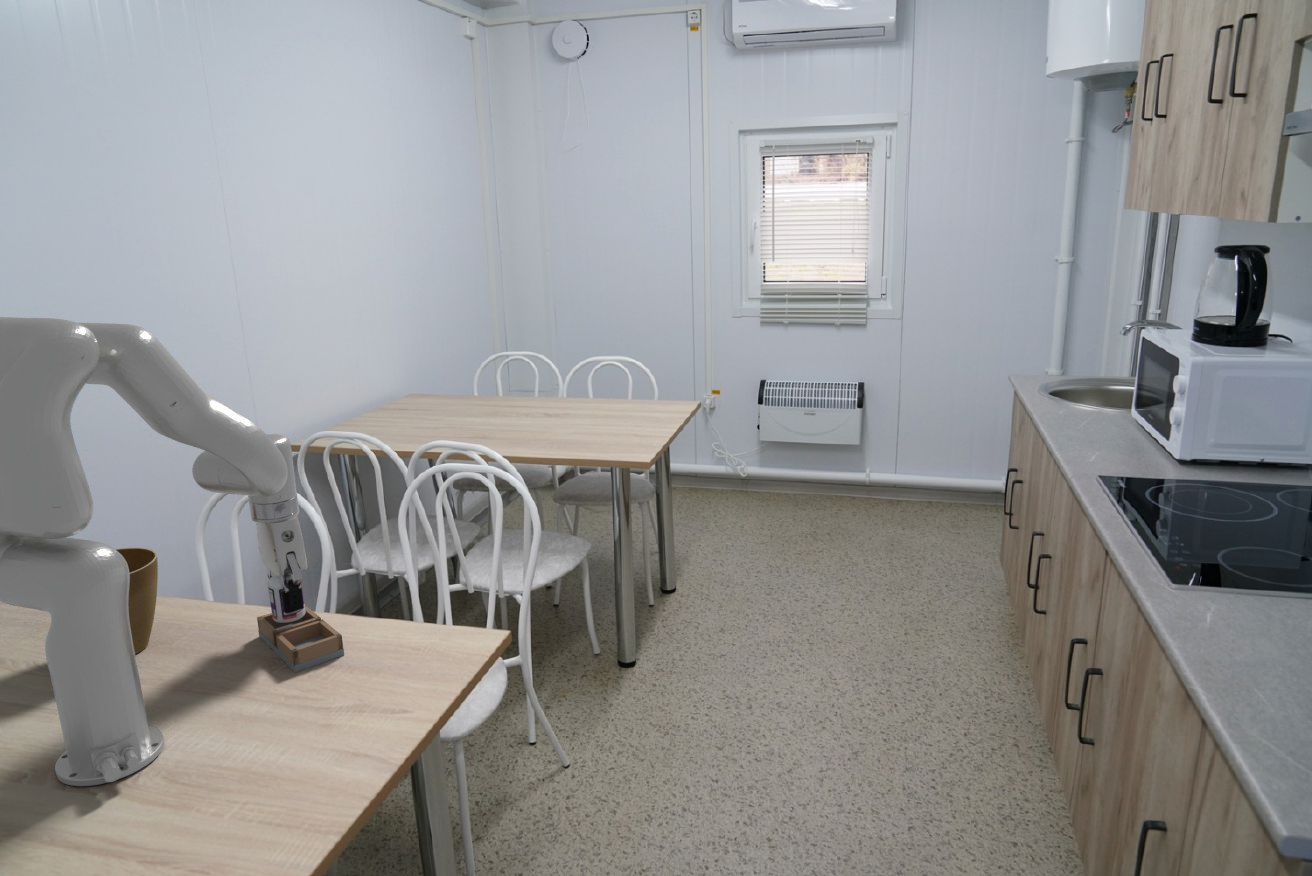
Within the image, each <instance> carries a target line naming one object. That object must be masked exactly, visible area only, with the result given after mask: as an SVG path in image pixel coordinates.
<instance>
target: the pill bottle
mask: <svg viewBox="0 0 1312 876" xmlns="http://www.w3.org/2000/svg"><path fill="white" fill-rule="evenodd" d="M270 571H271V570H270ZM288 572H290V570H289V569H288V570H284V573H288ZM271 576H272V577H271V578H270V579H268V581H267V589H268V596H269V602H270V609H271V613H272V617H273V620H274V621H275V622H278V623H288V622H293V621H296V620H299V619H300V618H302V617H303V616H304V615H305V605H306V604H305V598H304V591H303V588H302V596H303V604H304V608H303V609H300V610H297V611H294V612H291V613H285V612H284V608H283V600H282V593H281V592H282V591H283V587H282V582H281V578H280V576H278V575H276V574H275V573H274V572H272V571H271ZM290 579H291V576H289V577H286V581H287V583H288V581H289V580H290ZM301 585H302V586H303V582H302V580H301Z"/></svg>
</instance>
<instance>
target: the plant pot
mask: <svg viewBox="0 0 1312 876" xmlns="http://www.w3.org/2000/svg"><path fill="white" fill-rule="evenodd" d="M114 549H115V548H114ZM115 550H117V551H118V552H119V553H120V554H121V555H122V556H123V557H124V559H125V560H126V562H127V565H128V568H129V574H130V584H129V597H128V609H129V621H130V628H131V634H132V640H133V645H134V651H135V655H136V654H139V653H140V652H142V651H144V650H145V649H146V648H147V647H148V646H149V641H150V638H151V635H152V634H151V633H152V630H153V624H154V619H155V613H156V606H157V595H158V582H159V581H158V579H159V577H158V576H159V574H158V573H159V572H158V569H159V567H158V566H159V565H158V553H157V552H156V551H155V550H153V549H152V548H151V549H150V548H146V547H123V548H116V549H115Z"/></svg>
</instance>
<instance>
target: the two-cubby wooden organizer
mask: <svg viewBox="0 0 1312 876" xmlns="http://www.w3.org/2000/svg"><path fill="white" fill-rule="evenodd" d="M256 620H257V627H258V628H257V629H258V636H259V638H260V639H261V640H262V641H263V642H264V643H265V644H266V645H267V646H268V647H269V648H270V649H271V650H272V651H273V652H274V653H275V654H276V655H277V656H278V657H279V658H280V659H281V660H282V661H283V662H284V663H285V664H286V665H288V667H289V668H290V669H291V670H292V671H293V672H294V673H298V672H301V671H303V670H306V669H310V668H312V667H314V666H318V665H320V664H324V663H325V662H330V661H332V660H334V659H337V658H340V657H343V656H345V650H344V643H343V635H342V634H341V633H340V632H339V631H337V630H336V629H335V628H334V627H333V626H331V625H330V624H329V623H328V622H326V621H325V620H324V619H322V618H321V616H319V615H318V614H317V613H316V612H314V611H313V610H312V609H311V608H309V607H308V606H307V605H306V604H305V615H304V616H303V617H302V618H300V619H299V620H296V621H293V622H288V623H278V622H275V621H274V620H273V617H272V612H271V613H267V614H264V615H261V616H257V617H256Z"/></svg>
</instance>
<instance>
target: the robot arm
mask: <svg viewBox="0 0 1312 876" xmlns="http://www.w3.org/2000/svg"><path fill="white" fill-rule="evenodd" d="M85 385H101V386H103V385H104V386H107V387H109V388H111V389H113V390H114V391H115V392H116V394H117V395H119V396H120V397H121V398H122V399H123V401H125V402H126V403H127V404H128V405H129V406H130V407H131V408H132V409H133V410H134V412H135V413H137V414H138V416H140V418H141V419H143V420H144V422H146V424H147V425H148V426H149V427H150V428H151V429H152V430H153V431H155V432H156V433H157V434H159V435H162V436H164V437H167V439H170V440H173V441H175V442H177V443H181V444H184V445H187V446H191V447H193V448H197V449H200V450H203V452H201V453H200V454H199V455H198V456H197V457H196V458H195V460H194V462H193V465H192V478H193V480H194V482H195V484H197V485H198V486H199V487H201V488H202V489H203V490H205V491H207V492H211V493H217V494H226V495H227V494H228V495H239V496H248V505H249V512H250V518H251V521H252V522H255V523H256V536H257V544H258V551H259V556H260V560H261V563H262V564H263V565H264V566H265V567H266V568H267V569H266V570H267V571H266V572H267V574H266V576H267V579H268V580H269V579H270V578H271V577H272V576H271V571H272V572H274V573H275V574H276V575H278V576H280V578H281V582H282V587H283V591H282V592H281V593H282V600H283V608H284V612H285V613H291V612H294V611H297V610H300V609H303V608H304V604H305V603H304V604H303V597H304V595H303V596H302V589H303V584H302V585H301V581H302V580H303V575H302V572H301V571H303V572H304V571H307V569H308V560H307V555H306V554H307V553H306V548H305V543H304V542H305V541H304V539H303V534H302V529H301V524H300V522H299V521H300V520H299V519H298V516H299V514H300V506H299V499H298V491H297V484H296V476H295V475H296V474H295V468H294V459H293V449H292V445H291V441H290V439H288V437H287V436H285V435H283V434H277V433H268V434H267V433H266V432H265V431H264V430H262V428H260V427H259V426H258V425H257V424H255V423H254V422H253V421H251V420H250V419H248V418H246V416H243V415H241V414H239V413H238V412H237V411H235V410H233V409H231V408H230V407H228V406H227V405H225V404H223V403H222V402H220V401H218V400H217V399H215V398H212V397H211V396H209V395H208V394H207V393H205V392H204V390H203V389H202V388H200V386H199V385H198V384H197V383H196V381H195V380H194V379H193V378H192V377H191V375H189V373H188V372H187V371H186V370H185V369H184V367H183V366H182V365H181V364H180V363H179V362H178V361H177V360H176V358H175V357H174V356H173V355H172V354H171V352H170V351H168V349H167V347H165V346H164V344H163V343H162V342H161V341H160V340H159V339H158V338H157V337H156V336H155V335H154V334H153V333H152V332H150V331H149V330H148V329H146V328H144V327H143V326H142V327H141V326H138V325H134V324H128V323H108V322H107V323H106V322H105V323H101V322H76V321H72V320H67V319H61V318H60V319H59V318H51V317H50V318H49V317H12V316H11V317H9V316H0V603H4V604H6V605H9V606H14V607H18V608H23V609H30V610H31V609H32V610H37V611H39V612H40V611H41V612H46V613H49V615H50V618H51V620H50V625H49V628H48V631H47V635H46V638H45V643H44V644H45V648H44V649H45V650H44V652H45V659H46V663H47V668H48V671H49V675H50V681H51V685H52V690H53V694H54V699H55V703H56V709H57V714H58V719H59V723H60V727H61V733H62V736H63V737H62V738H63V741H64V746H65V747H64V748H65V751H64V752H62V754H60V756H59V757H58V759H57V761H56V762H55V767H54V772H55V774H56V778H57V779H58V781H60V782H61V783H63V784H64V785H68V786H74V787H89V786H90V787H91V786H99V785H102V784H107V783H113V782H116V781H118V780H120V779H123V778H125V777H128V776H130V775H132V774H135V773H136V772H138V771H140V770H141V769H143V768H144V767H146V766H147V765H149V764H150V763H152V762H153V761H154V760H155V759H156V758H157V757H158V756H159V755H160V754H161V752H162V750H163V749H164V746H165V739H164V738H165V737H164V733H163V732H162V730H160V729H159V728H158V727H156V726H154V725H149V723H148V718H147V713H146V712H147V711H146V706H145V702H144V695H143V689H142V684H141V679H140V674H139V669H138V663H137V657H136V654H135V651H134V645H133V640H132V634H131V628H130V621H129V609H128V597H129V584H130V574H129V568H128V565H127V562H126V560H125V559H124V557H123V556H122V555H121V554H120V553H119V552H118V551H117V550H115V548H114V547H112V546H109V545H107V544H105V543H102V542H99V541H95V540H89V539H83V538H73V537H72V536H74V535H77V534H79V533H80V532H82V531H84V530H85V529H86V528H87V527H88V525H89V524H90V522H91V520H92V518H93V514H94V502H93V496H92V492H91V488H90V485H89V483H88V481H87V477H86V474H85V470H84V468H83V464H82V462H81V459H80V455H79V451H78V449H77V446H76V444H75V439H74V435H73V431H72V427H71V426H72V425H71V424H72V423H71V418H72V417H71V415H72V414H71V413H72V410H73V407H74V404H75V402H76V400H77V398H78V396H79V394H80V392H81V390H82V389H83V388H84V387H85ZM288 569H289V570H290V572H288V573H284V570H288ZM270 570H271V571H270ZM289 576H291V579H290V580H289V581H288V583H287V581H286V577H289Z"/></svg>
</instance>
